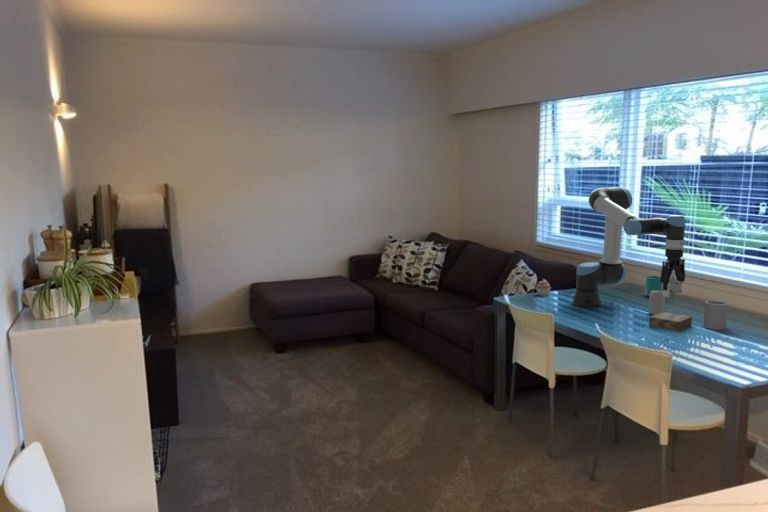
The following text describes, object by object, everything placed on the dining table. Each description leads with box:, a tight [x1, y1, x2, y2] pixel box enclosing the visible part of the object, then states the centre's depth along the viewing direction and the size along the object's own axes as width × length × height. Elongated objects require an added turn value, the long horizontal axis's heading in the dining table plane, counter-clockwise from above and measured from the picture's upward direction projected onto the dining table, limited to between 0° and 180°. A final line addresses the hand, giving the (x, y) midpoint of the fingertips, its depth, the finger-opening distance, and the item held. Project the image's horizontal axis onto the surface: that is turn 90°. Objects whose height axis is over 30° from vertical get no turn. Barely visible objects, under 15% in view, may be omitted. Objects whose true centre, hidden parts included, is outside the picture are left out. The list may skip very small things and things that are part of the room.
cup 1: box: [644, 275, 663, 297], centre depth 347 cm, size 9×12×11 cm
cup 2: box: [703, 300, 728, 331], centre depth 279 cm, size 9×9×12 cm
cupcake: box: [535, 278, 552, 297], centre depth 355 cm, size 9×9×10 cm
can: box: [648, 290, 666, 315], centre depth 306 cm, size 8×8×12 cm
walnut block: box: [648, 311, 693, 332], centre depth 284 cm, size 14×14×5 cm
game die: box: [662, 275, 684, 297], centre depth 281 cm, size 9×8×10 cm
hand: (671, 295), depth 282 cm, fingers closed on game die, 8 cm apart
